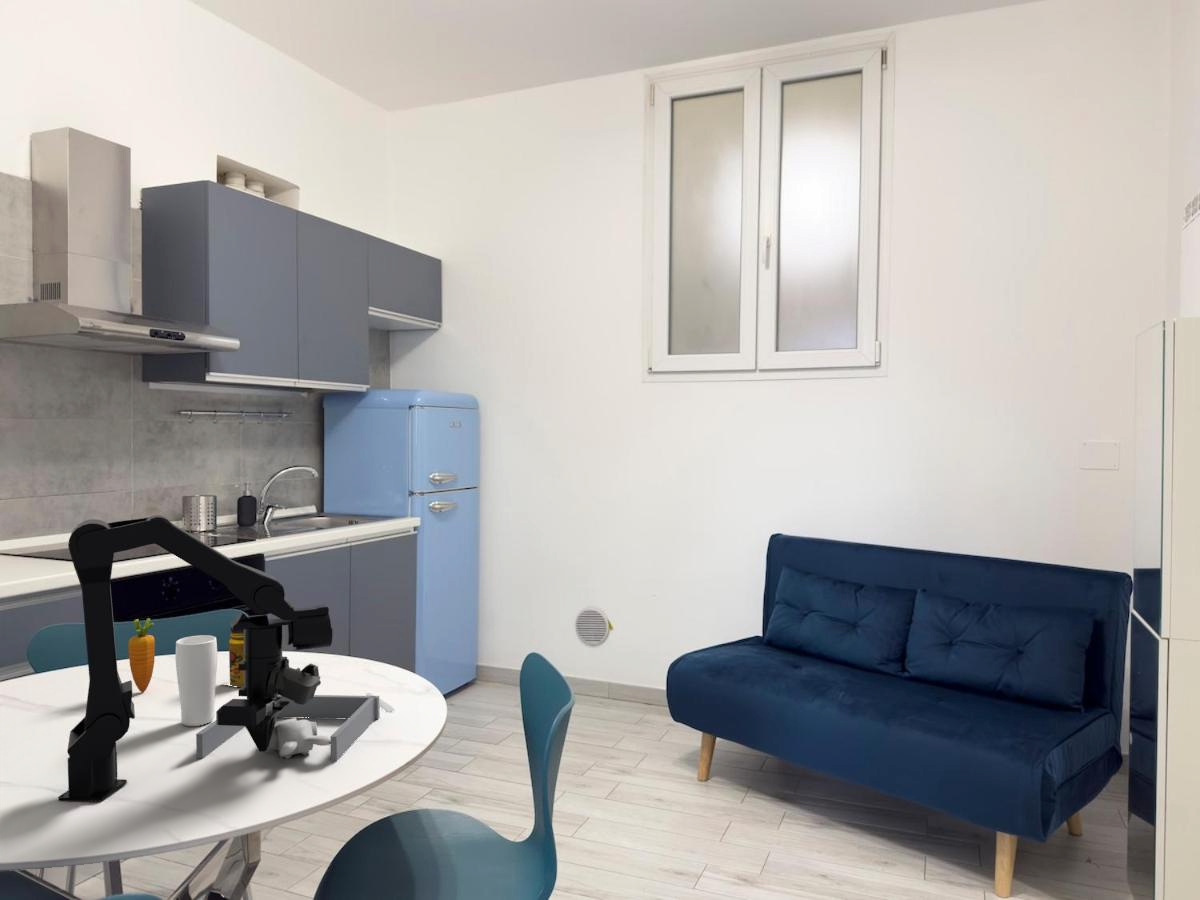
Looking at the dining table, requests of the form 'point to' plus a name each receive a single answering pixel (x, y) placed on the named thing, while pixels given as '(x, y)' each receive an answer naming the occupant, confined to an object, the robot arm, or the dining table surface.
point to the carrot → (142, 655)
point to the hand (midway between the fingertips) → (263, 751)
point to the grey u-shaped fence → (319, 706)
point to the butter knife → (383, 704)
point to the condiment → (236, 657)
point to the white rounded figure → (295, 737)
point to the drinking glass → (196, 678)
